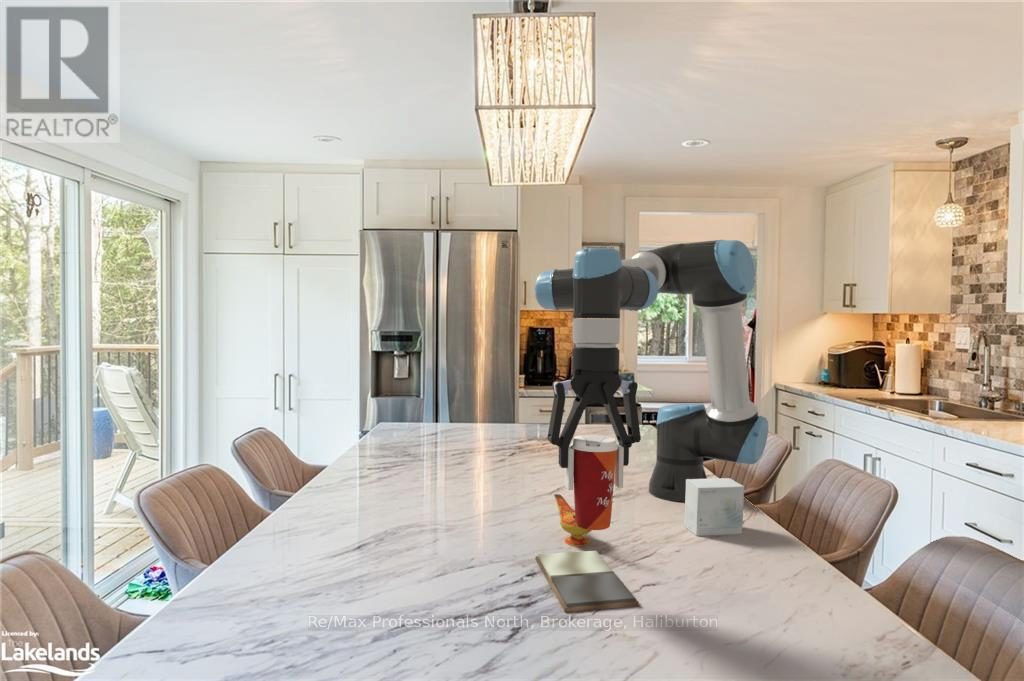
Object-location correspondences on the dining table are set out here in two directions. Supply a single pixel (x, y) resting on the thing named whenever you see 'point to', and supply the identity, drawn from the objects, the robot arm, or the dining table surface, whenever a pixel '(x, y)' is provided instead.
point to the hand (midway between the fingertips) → (593, 486)
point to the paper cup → (593, 480)
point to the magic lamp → (571, 524)
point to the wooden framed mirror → (584, 581)
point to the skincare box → (714, 506)
